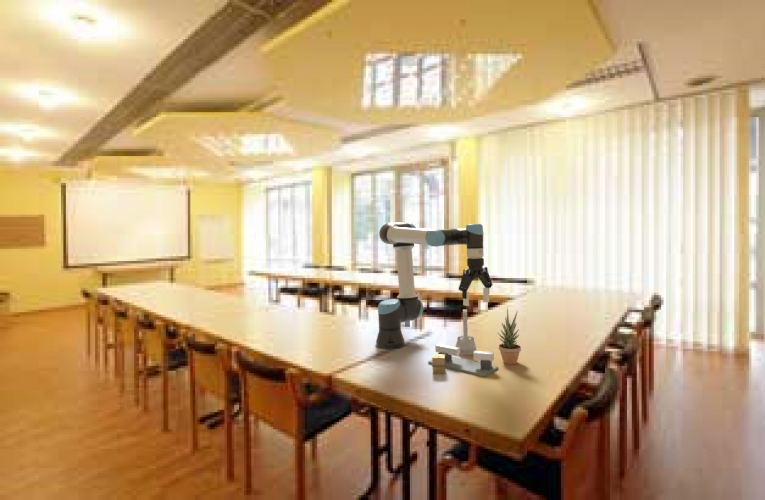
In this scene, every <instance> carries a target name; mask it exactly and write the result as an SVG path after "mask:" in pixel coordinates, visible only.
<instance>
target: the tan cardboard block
mask: <svg viewBox="0 0 765 500" xmlns="http://www.w3.org/2000/svg"><path fill="white" fill-rule="evenodd" d="M431 360H432V364H431V367H432V375H445V374H446V368H445V364H446V361H445V354H438V353H433V354H432V358H431Z"/></svg>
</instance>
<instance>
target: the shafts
mask: <svg viewBox="0 0 765 500" xmlns="http://www.w3.org/2000/svg"><path fill="white" fill-rule="evenodd" d="M435 353H444V354H449V355H452V357H457V356H460V355H461V354H460V348H458V347H456V346H452V345H447V344H443V343H438V344H435ZM472 355H473V360H474V361H481V360H483V361H492V362H494V359H495V358H494V357H495V356H494V355H495V353H494V352H493V351H483V350H482V351H481V350H476V351H474V353H473V354H472Z"/></svg>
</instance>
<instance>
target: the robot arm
mask: <svg viewBox="0 0 765 500" xmlns="http://www.w3.org/2000/svg"><path fill="white" fill-rule="evenodd" d="M465 225H466V226H465V228H449V229H448V228H447V229H444V228H443V229H434V228H432V229H431V228H417V227H416V226H415V224H413V223H411V222H406V221H403V222H402V221H401V222H399V221H398V222H386V223H385V224H383V225H382V226H381V227H380V229H379V232H378V233H379V235H378V236H379V238H380V240H381V241H382V243H384V244H387V245H392V246H393V247H392V248H393V249H394V250H395V251H396V265H397V267H396V268H397V278H398V281H397V282H398V291H399V292H398V293H399V294H398V295H397V296H396V298H391V299H389V298H388V299H384V300H382V301H380V302H378V305H377V308H378V309H377V312H378V313H377V314H378V333H377V337H376V340H375V342H376V343H375V345H376V347H378V348H381V349H397V348H401V347H403V346H405V338H404V335H403V332H402V327H401V326H402V325H401V324H402V323H406V322H410V321H415V320H416V319H420V317H421V316H422V315H423V312H424V304H423V302H422V300H421V299H420V298H419V295H418V294H417V293H416V291H415V289H416V288H415V287H416V286H415V276H414V263H413V248H414V247H415V244H416V245H423V246H425V245H427V246H430V247H436V248H437V247H444V246H456V245H464V246H466V257H467V259H466V266H467V267H468V268H464V269H463V270H462V277H461V280H460V283H459V286H458V291H461V292H462V293H461V294H462V301H463V303H462V305H463V306H466V307H469V306H470V299H469V298H470V297H469V296H470V295H469V294H470V293H469V291H468V290H469V288H470V287H471V284H472V282H473V281H474V280H475V279H479V281H480V282H481V283H482V285H483V288H482V290H483V292H482V294H483V296H482V298H483V302H487V303H490V289H491V288H492V287H493V281H492V280H491V276H490V273H489V270H488V267H487V266H484V265H485V260H484V229H483V228H484V226H483V224H482V223H468V224H465Z"/></svg>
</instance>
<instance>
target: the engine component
mask: <svg viewBox="0 0 765 500" xmlns="http://www.w3.org/2000/svg"><path fill="white" fill-rule="evenodd" d="M462 325H463V326H462V327H463V331H462V332H463V335H459V336H458V337H457V341H456V342H455V343H456V344H455V347H458V348H460V355H473V353H474V351H477V344H476V342H475V337H474V336H471V335H468V309H462Z"/></svg>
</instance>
